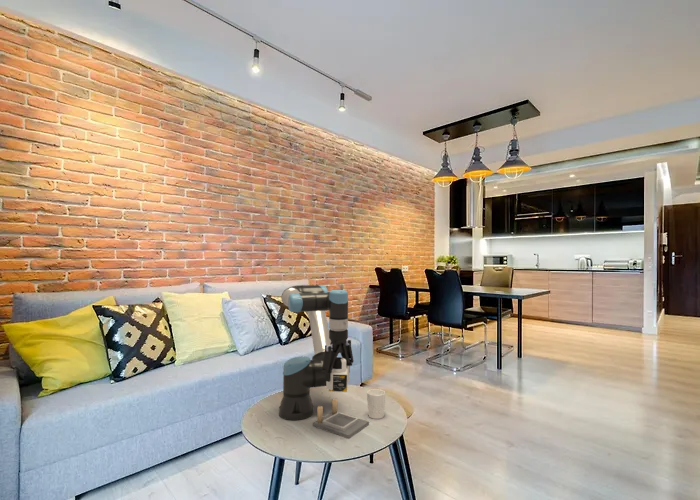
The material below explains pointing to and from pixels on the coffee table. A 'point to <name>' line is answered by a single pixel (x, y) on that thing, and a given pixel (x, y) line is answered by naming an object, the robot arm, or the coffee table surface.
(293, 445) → the coffee table surface
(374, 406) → the white cup
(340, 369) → the medicine bottle
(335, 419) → the peg board
